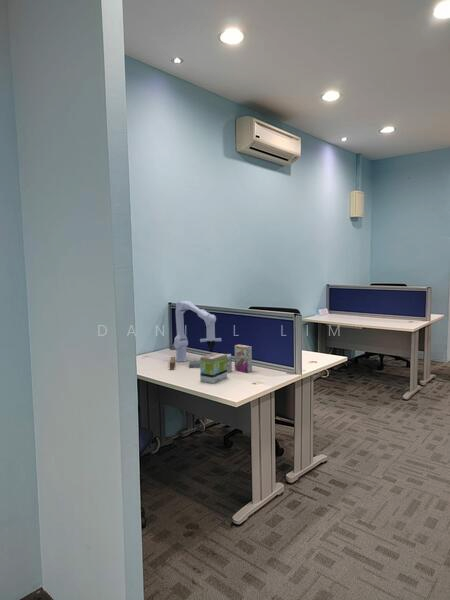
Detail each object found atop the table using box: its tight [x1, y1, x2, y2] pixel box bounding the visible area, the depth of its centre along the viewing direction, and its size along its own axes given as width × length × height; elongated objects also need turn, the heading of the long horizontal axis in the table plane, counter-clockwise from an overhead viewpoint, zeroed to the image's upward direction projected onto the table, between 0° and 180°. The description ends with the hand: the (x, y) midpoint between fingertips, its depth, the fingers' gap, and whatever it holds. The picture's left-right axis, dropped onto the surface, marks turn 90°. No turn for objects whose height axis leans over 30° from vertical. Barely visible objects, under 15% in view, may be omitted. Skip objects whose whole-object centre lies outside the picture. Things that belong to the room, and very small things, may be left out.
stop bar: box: [169, 356, 176, 371], centre depth 267 cm, size 16×3×5 cm, turn 5°
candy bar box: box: [234, 344, 253, 374], centre depth 253 cm, size 11×5×16 cm, turn 47°
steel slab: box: [188, 360, 200, 369], centre depth 268 cm, size 10×10×3 cm
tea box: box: [199, 352, 228, 384], centre depth 235 cm, size 15×10×15 cm
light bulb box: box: [226, 353, 233, 373], centre depth 253 cm, size 11×7×11 cm, turn 84°
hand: (211, 351), depth 268 cm, fingers closed
